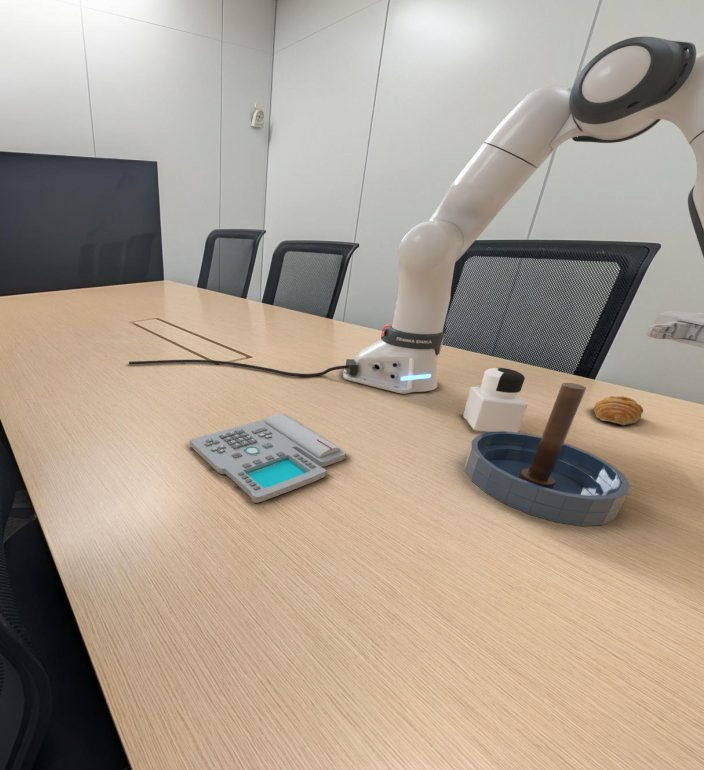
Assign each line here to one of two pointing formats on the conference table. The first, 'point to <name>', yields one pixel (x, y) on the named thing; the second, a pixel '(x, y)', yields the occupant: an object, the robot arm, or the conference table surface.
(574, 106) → the robot arm
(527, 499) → the bowl
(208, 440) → the office telephone
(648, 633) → the conference table surface
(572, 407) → the stirring stick
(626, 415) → the pastry
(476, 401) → the medicine bottle
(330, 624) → the conference table surface
